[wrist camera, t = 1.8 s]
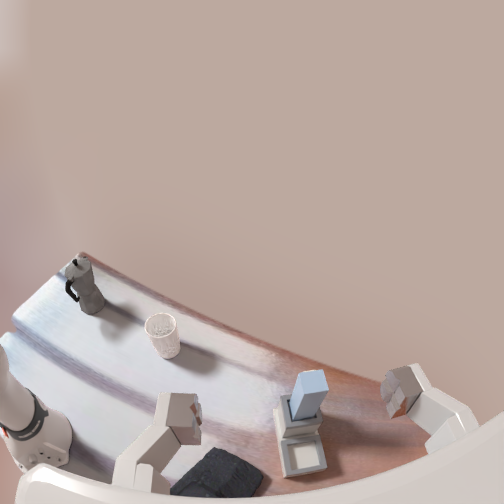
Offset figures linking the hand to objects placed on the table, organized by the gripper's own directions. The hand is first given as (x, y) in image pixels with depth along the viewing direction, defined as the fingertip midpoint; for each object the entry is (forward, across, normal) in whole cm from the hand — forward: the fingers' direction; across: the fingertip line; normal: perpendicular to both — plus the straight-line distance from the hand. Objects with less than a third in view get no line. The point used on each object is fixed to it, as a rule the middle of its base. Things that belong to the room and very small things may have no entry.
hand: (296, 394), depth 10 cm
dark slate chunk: (+6, -11, -50) cm, 52 cm away
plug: (+21, +8, -39) cm, 45 cm away
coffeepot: (+59, -51, -40) cm, 88 cm away
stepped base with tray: (+18, +7, -48) cm, 52 cm away
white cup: (+44, -23, -43) cm, 66 cm away
